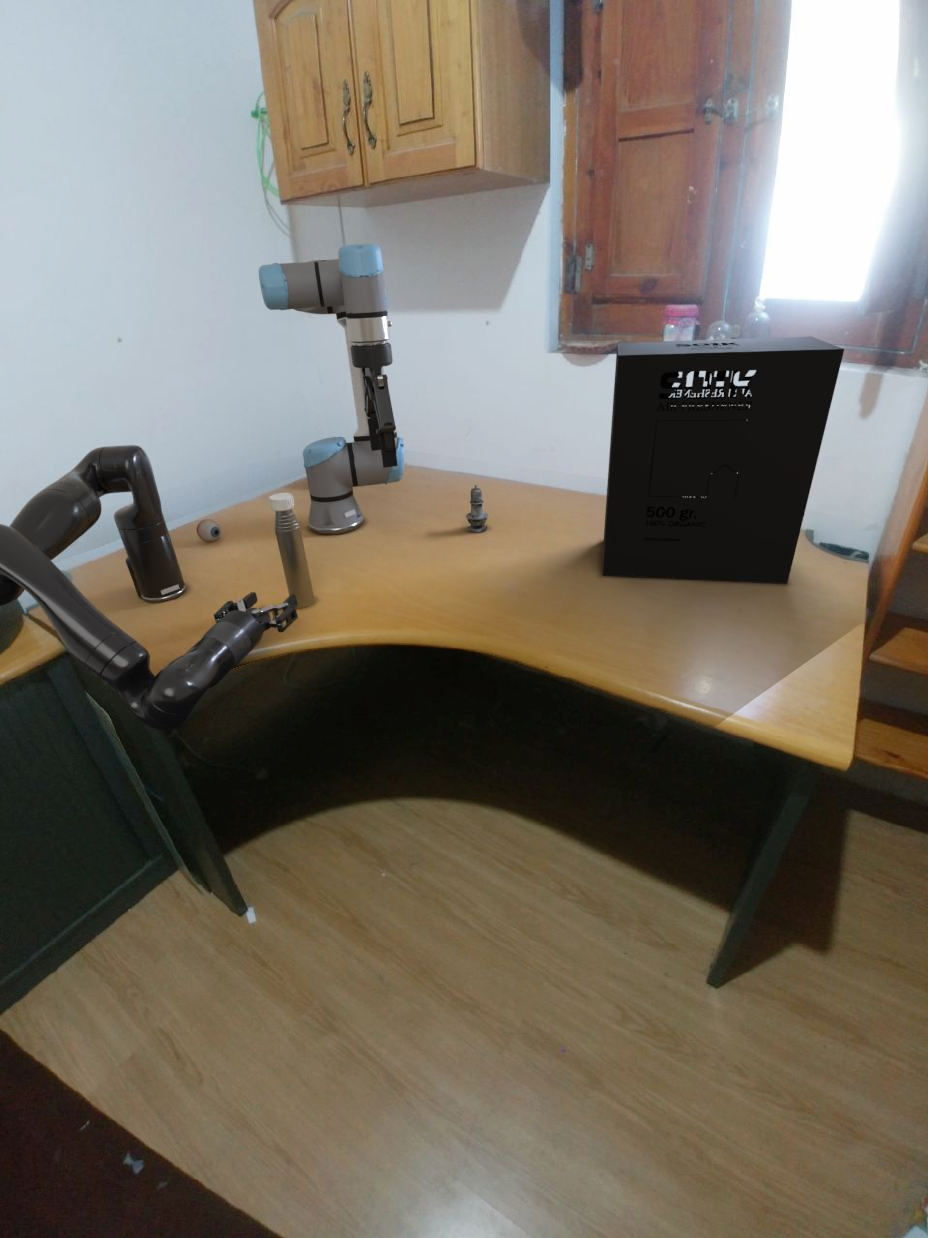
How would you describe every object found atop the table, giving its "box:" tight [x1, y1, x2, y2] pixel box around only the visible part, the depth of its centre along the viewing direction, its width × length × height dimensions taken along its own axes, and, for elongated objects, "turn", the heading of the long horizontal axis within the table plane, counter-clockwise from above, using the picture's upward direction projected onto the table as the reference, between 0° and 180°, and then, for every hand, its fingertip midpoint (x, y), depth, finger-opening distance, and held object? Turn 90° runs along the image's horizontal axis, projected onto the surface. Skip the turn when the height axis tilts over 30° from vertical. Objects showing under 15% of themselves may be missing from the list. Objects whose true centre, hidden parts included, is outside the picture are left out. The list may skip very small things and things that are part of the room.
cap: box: [268, 492, 295, 512], centre depth 119 cm, size 4×4×2 cm
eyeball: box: [196, 518, 222, 543], centre depth 162 cm, size 6×6×6 cm
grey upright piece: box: [465, 484, 489, 533], centre depth 159 cm, size 6×6×12 cm
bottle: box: [273, 508, 316, 609], centre depth 124 cm, size 5×5×23 cm
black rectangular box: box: [602, 336, 845, 585], centre depth 127 cm, size 38×20×45 cm, turn 78°
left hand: (274, 597), depth 118 cm, fingers open, 8 cm apart
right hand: (383, 457), depth 122 cm, fingers open, 13 cm apart
